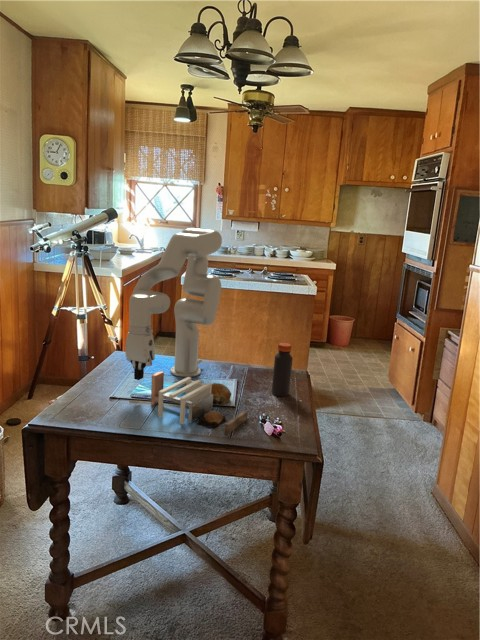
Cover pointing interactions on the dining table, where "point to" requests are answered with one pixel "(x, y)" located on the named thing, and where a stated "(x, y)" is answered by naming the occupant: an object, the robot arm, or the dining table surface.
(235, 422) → the bar
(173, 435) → the dining table surface
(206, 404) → the rod with wooden block
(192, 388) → the white slatted rack
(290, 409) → the dining table surface
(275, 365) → the bottle
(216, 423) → the bread roll
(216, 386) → the bread roll
